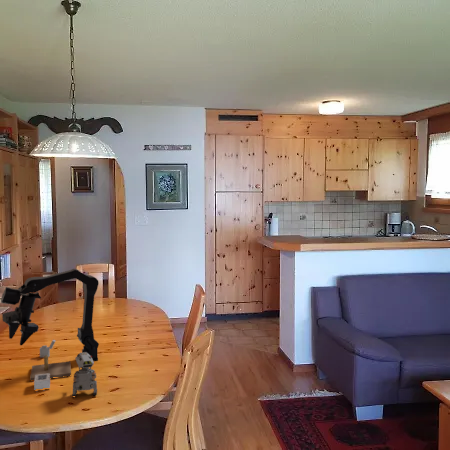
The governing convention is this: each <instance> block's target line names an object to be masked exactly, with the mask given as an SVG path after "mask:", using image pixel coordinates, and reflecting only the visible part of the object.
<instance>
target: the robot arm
mask: <svg viewBox="0 0 450 450" xmlns="http://www.w3.org/2000/svg"><path fill="white" fill-rule="evenodd" d="M73 279H76V280H77V281H79V282H81V283H82V288H83V292H84V300H83V301H84V302H83V310H82V324H81V327H77V334H76V337H77V338H78V340H79V341H80V343H81V344H82V345H83V346H82V348H83V349H81V353H82V352H87V353H88V354H89V355H90V356H92V358H93V361H94V362H95V361H98V360H99V357H98V353H99V352H98V348H99V345H100V343H99V342H98V341H97V340H96V339H95V335H94V330H93V317H94V305H95V304H94V303H95V302H94V301H95V295H96V293H97V290H98V289H99V288H98V287H99V283H100V282H99V279H98V278H97V277H95V276H93V275H90V274H89V275H86V274H85V273H83V272H82V271H80V270H78V269H77V268H72V269H70V270H65V271H61V272H59V273H58V272H57V273H55V274H50V275H47V276H33V277H28V278H27V279H25V281H24V283H23V284H22V285H21V286H20V287H17V288H13V287H8V286H5V289H4V291H3V293H2V294H1V298H0V304H6V305H13V306H15V305H17V304H19V305H18V306H16V307H15V308H14V310H11V311H7V312H3V313H2V315H1V317H2V323H5V324H6V325H8V337H9V339H10V340H12V339H13V338H14V336H15V334H16V333H17V331H18V329H19V328H20V329H19V331H20V333H21V335H20V340H19V346H23V345H24V344H25V343H26V342H27V341H28V339H30V337H31V336H32V335H33V334H35V333H37V332H38V331H39V329H40V328H39V327H40V326H39V325H38V324H36V323H35V322H32V319H31V316H32V314H34V313H35V310H34V306H35V303H36V299H40V300H41V299H42V297H41V296H40V293H39V292H40V291H42V290H44V289H45V288H47V287H49V286H51V285H55V284H59V283H63V282H66V281H70V280H73Z"/></svg>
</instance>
